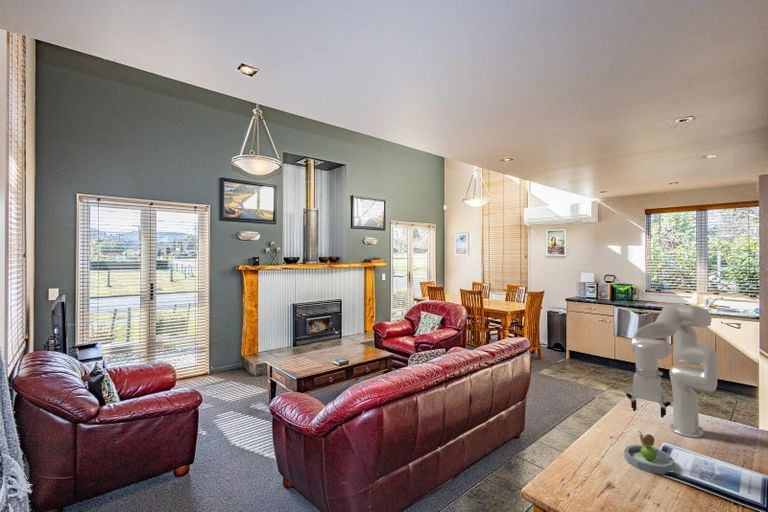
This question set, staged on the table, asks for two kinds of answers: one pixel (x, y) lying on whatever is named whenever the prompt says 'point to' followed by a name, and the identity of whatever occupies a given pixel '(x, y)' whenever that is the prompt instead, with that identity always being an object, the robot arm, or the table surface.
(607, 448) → the table surface
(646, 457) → the snail figurine
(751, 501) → the table surface
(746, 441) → the table surface
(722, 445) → the table surface
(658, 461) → the ring dish
